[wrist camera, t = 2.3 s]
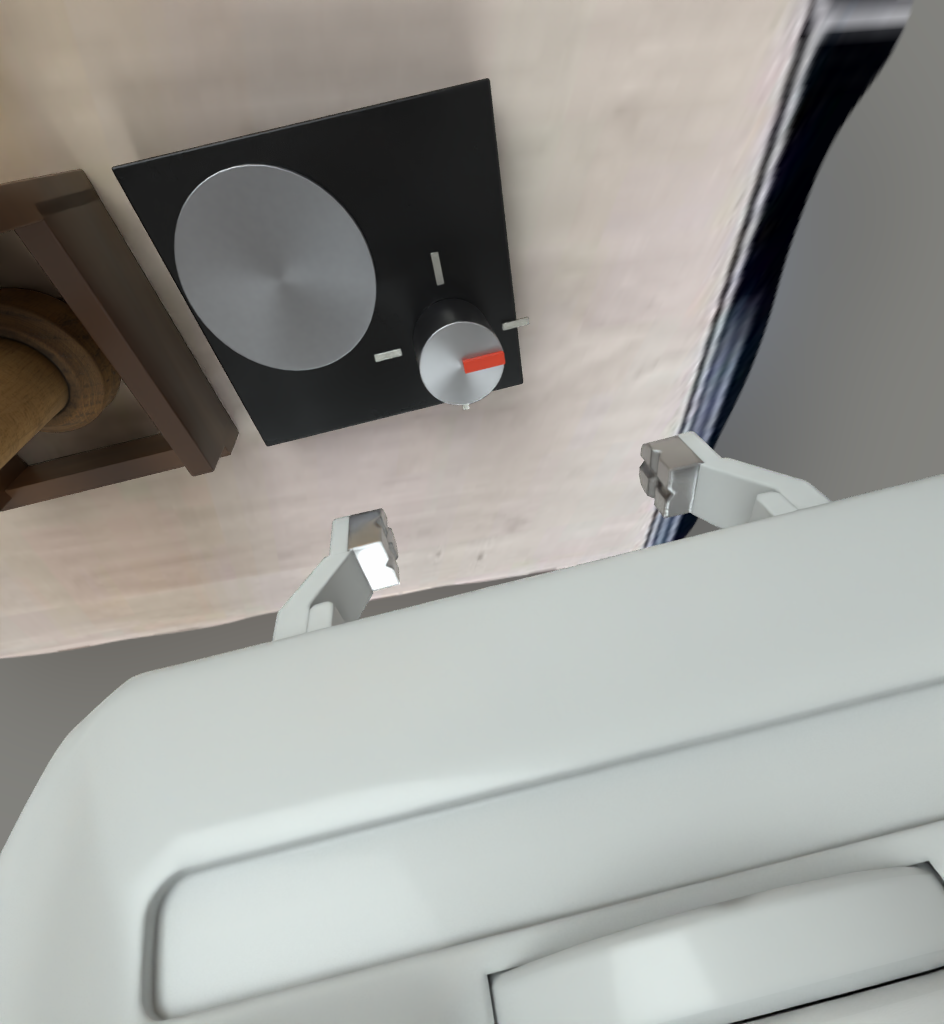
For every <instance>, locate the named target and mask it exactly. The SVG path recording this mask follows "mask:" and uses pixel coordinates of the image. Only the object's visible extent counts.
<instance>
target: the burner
mask: <svg viewBox="0 0 944 1024" xmlns="http://www.w3.org/2000/svg"><path fill="white" fill-rule="evenodd" d="M174 256H175V264H176V268H177V273H178V277H179V280H180V283H181V285H182V288H183V291H184V293H185V295H186V297H187V299H188V301H189V303H190V305H191V306H192V308H193V309H194V311H195V313H196V314H197V316H198V317H199V318H200V319H201V321H202V322H203V323H204V324H205V326H206V327H207V328H208V329H209V330H210V331H211V332H212V333H213V334H214V335H215V336H216V337H217V338H218V339H219V340H221V341H222V342H223V343H224V344H225V345H227V346H228V347H229V348H231V349H232V350H234V351H235V352H237V353H238V354H240V355H242V356H244V357H246V358H247V359H250V360H252V361H254V362H257V363H259V364H262V365H265V366H268V367H272V368H277V369H282V370H294V371H297V370H310V369H315V368H319V367H323V366H326V365H329V364H331V363H333V362H335V361H337V360H339V359H340V358H342V357H343V356H345V355H346V354H347V353H349V352H350V351H351V350H352V349H353V348H354V347H355V346H356V345H357V344H358V342H359V341H360V340H361V339H362V337H363V336H364V334H365V332H366V331H367V329H368V326H369V324H370V322H371V320H372V316H373V313H374V309H375V303H376V288H377V284H376V274H375V267H374V263H373V259H372V255H371V252H370V249H369V247H368V244H367V242H366V240H365V238H364V235H363V233H362V231H361V230H360V228H359V226H358V225H357V223H356V222H355V220H354V218H353V217H352V216H351V215H350V213H349V212H348V211H347V210H346V208H345V207H344V206H343V205H342V204H341V203H340V202H339V201H338V200H337V199H336V198H335V197H334V196H333V195H332V194H331V193H329V192H328V191H327V190H326V189H324V188H323V187H322V186H321V185H319V184H317V183H316V182H314V181H313V180H311V179H309V178H308V177H306V176H304V175H301V174H299V173H297V172H295V171H292V170H289V169H286V168H283V167H279V166H274V165H268V164H243V165H237V166H233V167H230V168H227V169H224V170H221V171H219V172H217V173H215V174H213V175H211V176H209V177H208V178H207V179H205V180H204V181H203V182H202V183H200V184H199V185H198V186H197V187H196V188H195V189H194V190H193V192H192V193H191V194H190V195H189V196H188V198H187V200H186V202H185V203H184V205H183V207H182V209H181V212H180V214H179V217H178V220H177V224H176V229H175V234H174Z"/></svg>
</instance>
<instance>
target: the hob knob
mask: <svg viewBox="0 0 944 1024" xmlns="http://www.w3.org/2000/svg"><path fill="white" fill-rule="evenodd" d="M413 343H414V348H415V353H416V358H417V363H418V367H419V372H420V376H421V379H422V382H423V384H424V386H425V387H426V389H427V390H428V391H429V392H430V393H431V394H432V395H433V396H434V397H435V398H437V399H439V400H440V401H443V402H445V403H448V404H453V405H466V404H471V403H474V402H477V401H479V400H481V399H482V398H484V397H486V396H487V395H488V394H489V393H490V392H491V391H492V390H493V389H494V388H495V387H496V385H497V384H498V382H499V380H500V378H501V376H502V373H503V369H504V364H505V356H504V352H503V349H502V346H501V344H500V342H499V340H498V338H497V336H496V335H495V333H494V331H493V330H492V328H491V326H490V325H489V323H488V321H487V320H486V318H485V316H484V315H483V313H482V312H481V311H480V310H479V309H478V308H477V307H476V306H475V305H473V304H471V303H470V302H467V301H465V300H461V299H455V298H454V299H444V300H441V301H438V302H436V303H434V304H432V305H431V306H429V307H428V308H427V309H426V310H425V311H424V312H423V313H422V314H421V316H420V317H419V319H418V321H417V323H416V326H415V329H414V335H413Z"/></svg>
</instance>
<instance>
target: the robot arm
mask: <svg viewBox="0 0 944 1024" xmlns="http://www.w3.org/2000/svg"><path fill="white" fill-rule="evenodd" d="M641 457H642V458H643V459H644V462H643V463H642V465H641V466H640V470H639V477H640V482H641V485H642V488H643V490H644V491H645V493H646V494H647V496H650V497H652V498H655V501H654V505H655V506H656V508H657V509H658V510H659V512H660V513H661V514H662V516H663V517H664V518H668V517H672V516H677V515H681V514H686V513H690V512H692V514H694V515H695V516H697V517H699V518H701V519H703V520H705V521H707V522H709V523H711V524H713V525H715V526H717V527H718V528H720V530H716V531H712V532H708V533H704V534H701V535H697V536H692V537H688V538H684V539H680V540H676V541H672V542H668V543H664V544H660V545H656V546H652V547H648V548H644V549H640V550H636V551H632V552H628V553H624V554H620V555H616V556H612V557H608V558H604V559H600V560H596V561H592V562H588V563H584V564H580V565H576V566H572V567H568V568H564V569H560V570H556V571H552V572H548V573H544V574H540V575H536V576H532V577H528V578H524V579H520V580H516V581H512V582H508V583H504V584H500V585H496V586H491V587H487V588H483V589H479V590H475V591H471V592H467V593H463V594H459V595H455V596H451V597H447V598H443V599H440V600H435V601H431V602H427V603H423V604H419V605H415V606H411V607H407V608H403V609H399V610H395V611H391V612H387V613H383V614H379V615H375V616H371V617H367V618H363V619H359V618H360V616H361V614H362V612H363V610H364V609H365V607H366V605H367V603H368V601H369V600H370V598H371V596H372V594H373V591H376V590H380V589H383V588H387V587H391V586H394V585H398V584H400V581H399V567H398V565H397V562H396V560H397V558H398V550H397V545H396V541H395V537H394V534H393V532H392V529H391V528H389V527H388V525H387V517H386V514H385V512H384V510H383V509H382V508H381V509H376V510H372V511H368V512H363V513H359V514H354V515H351V516H346V517H342V518H338V519H334V521H333V523H332V532H331V543H330V553H329V556H327V557H324V559H323V560H322V561H321V562H320V563H319V565H318V566H317V567H316V568H315V569H314V570H313V572H312V573H311V574H310V575H309V576H308V577H307V579H306V580H305V581H304V582H303V583H302V584H301V586H300V587H299V588H298V589H297V590H296V592H295V593H294V594H293V595H292V596H291V597H290V599H289V600H288V601H287V602H286V603H285V604H284V606H283V607H282V608H281V609H280V610H279V611H278V613H277V618H276V624H275V629H274V634H273V639H272V641H271V642H267V643H262V644H258V645H254V646H251V647H246V648H242V649H239V650H234V651H230V652H226V653H223V654H218V655H214V656H210V657H206V658H202V659H199V660H195V661H190V662H186V663H182V664H178V665H173V666H169V667H165V668H160V669H156V670H152V671H148V672H145V673H142V674H139V675H137V676H134V677H132V678H130V679H129V680H127V681H126V682H125V683H123V684H122V685H121V686H120V687H119V688H118V689H116V690H115V691H114V692H113V693H111V694H110V695H109V696H108V697H107V698H106V699H105V700H104V701H103V702H102V703H101V704H99V705H98V706H97V707H96V708H95V709H94V710H93V711H92V712H91V713H90V714H89V715H88V716H86V717H85V718H84V719H83V720H82V721H81V722H80V723H79V724H78V725H77V726H76V727H75V728H74V729H73V730H72V731H71V732H70V733H69V734H68V735H67V736H66V737H65V739H64V740H63V742H62V743H61V745H60V746H59V747H58V749H57V750H56V752H55V754H54V755H53V757H52V758H51V760H50V761H49V763H48V765H47V766H46V768H45V770H44V772H43V774H42V776H41V777H40V779H39V781H38V783H37V785H36V787H35V788H34V790H33V792H32V794H31V796H30V798H29V800H28V801H27V803H26V805H25V807H24V809H23V811H22V813H21V815H20V817H19V818H18V820H17V822H16V824H15V826H14V829H13V830H12V832H11V834H10V836H9V838H8V840H7V842H6V844H5V846H4V848H3V850H2V852H1V854H0V1024H944V474H941V475H937V476H933V477H928V478H924V479H920V480H916V481H912V482H908V483H904V484H901V485H897V486H893V487H889V488H885V489H881V490H877V491H873V492H869V493H865V494H861V495H857V496H853V497H849V498H845V499H841V500H837V501H833V502H832V501H831V500H830V499H828V498H827V497H826V496H825V495H824V494H822V493H821V492H820V491H819V490H817V489H816V488H815V487H814V486H813V485H812V484H810V483H809V482H808V481H805V480H801V479H798V478H795V477H791V476H788V475H785V474H781V473H778V472H774V471H771V470H768V469H764V468H761V467H757V466H754V465H750V464H747V463H744V462H740V461H737V460H733V459H730V458H723V459H722V458H721V457H720V456H719V455H718V454H717V453H716V452H715V451H714V450H713V449H712V448H711V447H710V446H708V445H707V444H706V443H705V442H704V441H703V440H702V439H701V438H700V437H699V436H698V435H697V434H696V433H695V432H692V431H690V432H686V433H682V434H679V435H675V436H673V437H669V438H665V439H661V440H657V441H653V442H649V443H645V444H643V445H642V448H641ZM358 619H359V620H358Z"/></svg>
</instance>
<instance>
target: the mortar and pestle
mask: <svg viewBox="0 0 944 1024" xmlns="http://www.w3.org/2000/svg"><path fill="white" fill-rule="evenodd" d="M120 381H121V377H120V376H119V374H118V373H117V372H116V370H115V369H114V367H113V366H112V365H111V363H110V362H109V360H108V359H107V358H106V356H105V355H104V354H103V352H102V351H101V349H100V348H99V347H98V345H97V344H96V342H95V341H94V340H93V338H92V337H91V336H90V334H89V333H88V331H87V330H86V329H85V327H84V326H83V325H82V323H81V322H80V320H79V319H78V318H77V316H76V315H75V313H74V312H73V311H72V309H71V308H70V307H69V305H68V304H66V303H64V302H63V301H61V300H58V299H57V298H54V297H52V296H49V295H46V294H43V293H40V292H37V291H33V290H28V289H20V288H3V289H0V469H1V468H2V467H3V466H4V465H5V464H6V463H7V462H8V461H9V460H10V459H11V458H12V457H13V456H14V455H15V454H16V453H17V452H18V451H19V450H20V449H21V448H22V447H23V446H24V445H25V444H26V443H27V442H28V441H29V440H30V439H31V438H32V437H33V436H34V435H35V434H36V433H37V432H38V431H42V432H66V431H72V430H75V429H78V428H81V427H83V426H85V425H87V424H89V423H90V422H92V421H93V420H94V419H95V418H96V417H97V416H98V415H99V414H100V413H101V412H102V411H103V409H104V408H105V407H106V406H107V405H108V404H109V403H110V402H111V401H112V400H113V398H114V397H115V395H116V393H117V391H118V389H119V386H120Z"/></svg>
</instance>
